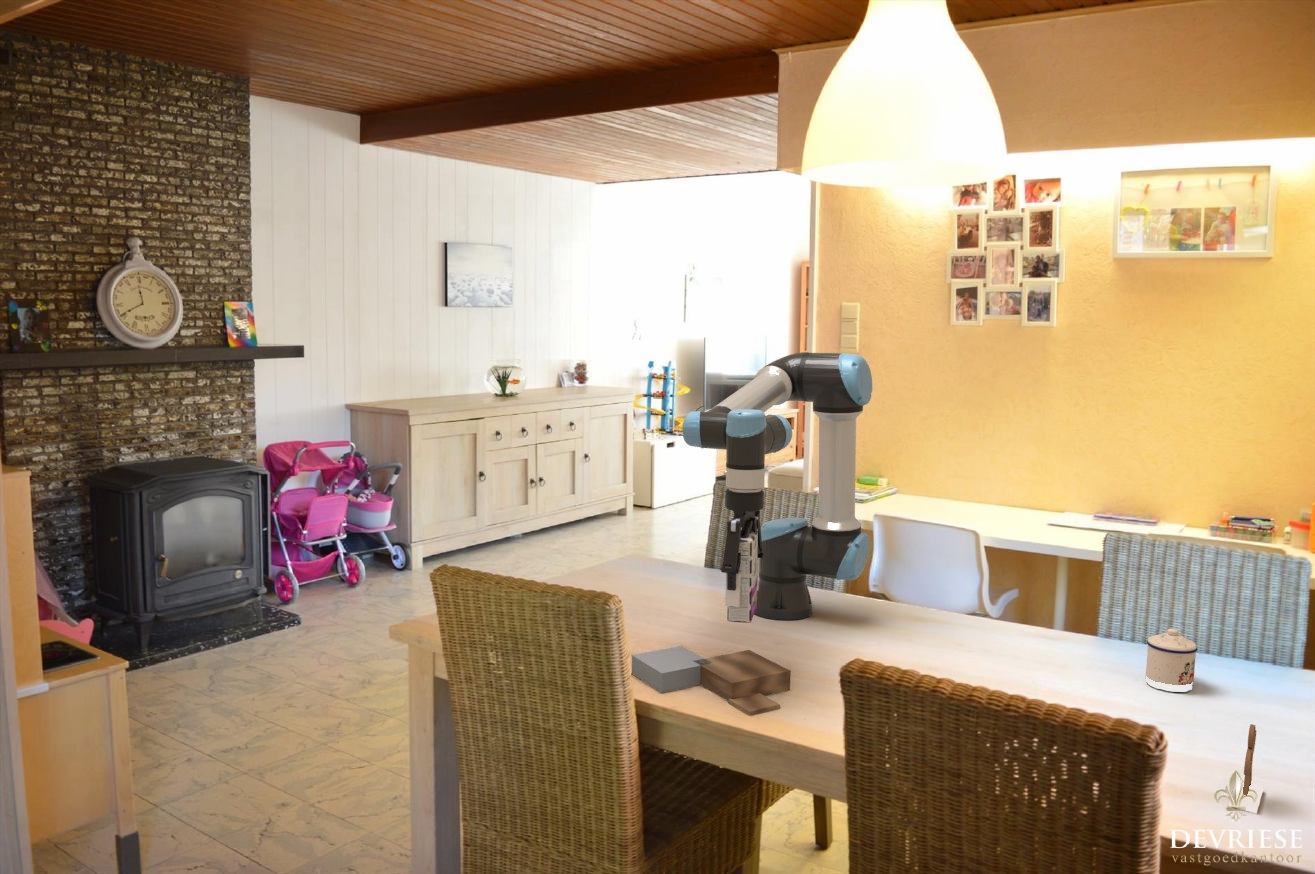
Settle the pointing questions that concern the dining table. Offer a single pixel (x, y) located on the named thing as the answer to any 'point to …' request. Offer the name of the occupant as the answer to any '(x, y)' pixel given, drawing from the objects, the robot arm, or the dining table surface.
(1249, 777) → the gingerbread man figurine
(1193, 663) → the teacup with lid
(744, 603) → the candy bar box
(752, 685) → the walnut block
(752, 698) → the tile
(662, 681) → the slate grey block
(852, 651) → the dining table surface
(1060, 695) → the dining table surface
